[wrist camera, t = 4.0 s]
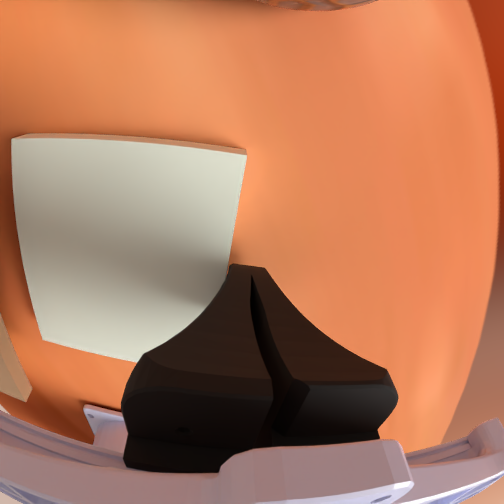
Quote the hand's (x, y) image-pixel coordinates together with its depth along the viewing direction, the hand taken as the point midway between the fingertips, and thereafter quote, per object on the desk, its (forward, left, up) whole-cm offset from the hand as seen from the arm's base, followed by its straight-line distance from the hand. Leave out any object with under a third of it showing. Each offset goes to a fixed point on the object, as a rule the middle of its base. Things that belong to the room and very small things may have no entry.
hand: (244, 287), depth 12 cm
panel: (0, +5, -2) cm, 6 cm away
